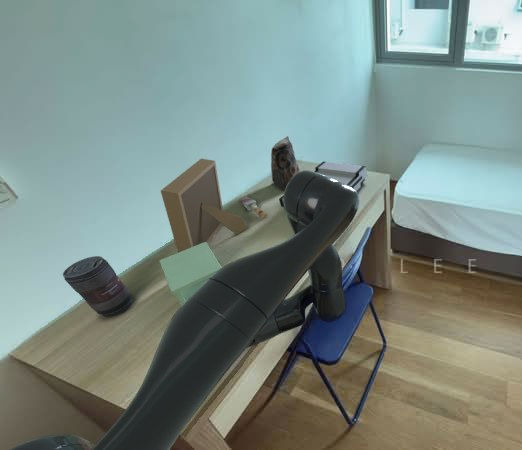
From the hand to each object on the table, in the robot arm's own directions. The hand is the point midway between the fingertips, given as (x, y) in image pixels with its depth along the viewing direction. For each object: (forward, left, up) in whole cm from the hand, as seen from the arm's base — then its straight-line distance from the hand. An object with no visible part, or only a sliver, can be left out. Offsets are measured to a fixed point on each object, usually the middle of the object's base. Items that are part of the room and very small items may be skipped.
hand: (168, 358), depth 63 cm
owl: (+68, -57, -6) cm, 89 cm away
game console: (+43, -63, -6) cm, 77 cm away
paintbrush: (+57, -37, -3) cm, 68 cm away
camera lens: (+33, +8, -6) cm, 35 cm away
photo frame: (+46, -21, -6) cm, 51 cm away
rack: (+26, -11, -6) cm, 29 cm away
